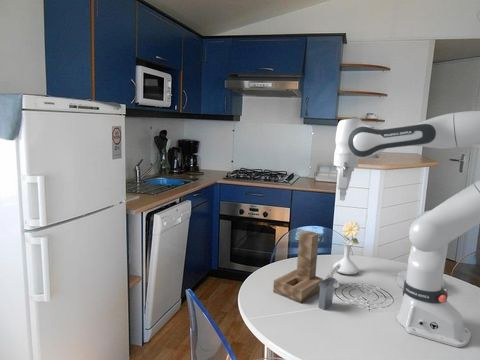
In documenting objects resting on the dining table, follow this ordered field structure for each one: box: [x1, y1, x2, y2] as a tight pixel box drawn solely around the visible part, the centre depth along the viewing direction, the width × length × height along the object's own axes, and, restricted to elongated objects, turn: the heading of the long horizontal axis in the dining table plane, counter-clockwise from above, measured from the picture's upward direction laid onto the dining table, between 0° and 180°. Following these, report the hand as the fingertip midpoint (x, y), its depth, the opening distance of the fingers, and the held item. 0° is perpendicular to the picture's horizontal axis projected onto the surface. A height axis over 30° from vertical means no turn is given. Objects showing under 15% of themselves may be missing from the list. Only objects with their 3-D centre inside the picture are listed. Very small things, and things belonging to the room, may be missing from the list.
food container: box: [395, 269, 447, 290], centre depth 159 cm, size 20×20×7 cm
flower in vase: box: [332, 220, 360, 275], centre depth 168 cm, size 13×11×25 cm
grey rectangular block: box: [318, 277, 336, 311], centre depth 137 cm, size 2×8×10 cm, turn 138°
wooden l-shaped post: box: [272, 230, 324, 304], centre depth 147 cm, size 13×16×23 cm
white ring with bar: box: [322, 264, 341, 289], centre depth 155 cm, size 8×12×7 cm
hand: (342, 197), depth 139 cm, fingers open, 8 cm apart
